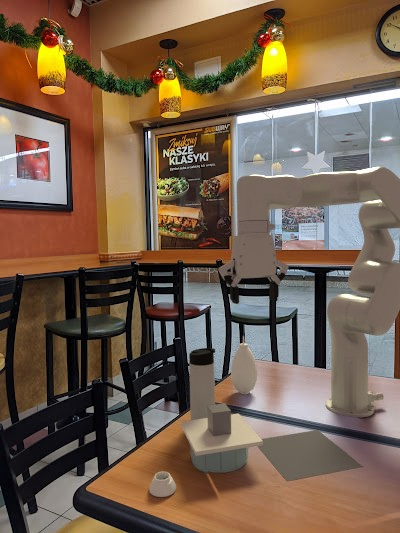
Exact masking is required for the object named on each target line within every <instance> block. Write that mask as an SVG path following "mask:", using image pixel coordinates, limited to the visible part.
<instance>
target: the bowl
mask: <svg viewBox="0 0 400 533" xmlns="http://www.w3.org/2000/svg"><path fill="white" fill-rule="evenodd" d="M189 445H190V444H189ZM189 448H190V457H191V463H192V465H193V466H194V468H196V469H197V470H198V471H200V472H202V473H204V474H207V475H209V474H210V473H228V472H233V471H236V470H239V469H241V468H242V467H244V466H245V465H246V464H247V462H248V457H249V447H247V448H241V449H235V450H229V451H223V452H217V453H210V454H204V455H198V456H196V455H195V453H194V451H193V449H192V447H191V445H190V447H189ZM209 472H210V473H209Z"/></svg>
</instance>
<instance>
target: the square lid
mask: <svg viewBox="0 0 400 533" xmlns="http://www.w3.org/2000/svg"><path fill="white" fill-rule="evenodd" d="M207 415H208V418H203V419H196V420H191V419H190V420H181V421H180V423H179V424H180V427H181V429H182V431H183V433H184V435H185V437H186V438H187V441H188V443H189V445H191V447H192V449H193V451H194V453H195V455H196V456H198V455H204V454H210V453H217V452H223V451H229V450H235V449H241V448H247V447H248V448H252V447H258V446H260V445H263V441H262V440H261V439H262V438H261V437H260V436H259V435H258V434H257V433H256V431H255V430H254V429H253V428H252V427H251V425H249V424H248V422H246V420H245V419H244V418H243V416H241V414H240V413H235V414H234V413H233V414H232V410H231V409H230V408H229V407H228V405H227V404H226V403H224V402H223V403H218V404H217V403H215V405H209V406H207ZM191 447H190V448H191Z"/></svg>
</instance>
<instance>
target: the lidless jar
mask: <svg viewBox="0 0 400 533" xmlns="http://www.w3.org/2000/svg"><path fill="white" fill-rule="evenodd" d="M148 489H149V494H151V495H152V496H154V497H157V498H164V497H169V496H171V495H173V494H174V493H176V489H177V485H176V482H175V480H174V479H173V476H171V474H170V473H169V472H168V471H159V472H156V473H155V474H154V476H153V477H152V481H151V483H150V485H149V488H148Z"/></svg>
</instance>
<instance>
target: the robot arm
mask: <svg viewBox="0 0 400 533" xmlns="http://www.w3.org/2000/svg"><path fill="white" fill-rule="evenodd" d="M360 203H361V204H362V205H361V206H360V207H359V210H358V220H359V225H360V226H361V229H362V233H363V243H362V244H363V245H362V247H361V250H360V251H359V254H358V256H357V258H356V260H355V262H354V264H353V265H352V268H351V270H350V273H349V276H348V278H347V283H348V286H349V288H350V290H351V291H353V292H354V293H357V294H353V293H341V294H338V295H335V296H334V297H332V298H331V299H330V300H329V301H328V304H327V310H326V315H327V320H328V321H327V322H328V326H329V332H330V348H331V349H330V350H331V352H330V354H331V355H330V356H331V357H330V358H331V359H330V360H331V361H330V364H331V366H330V369H331V370H330V372H331V373H330V381H331V382H330V383H331V388H330V389H331V391H330V392H331V393H330V394H331V396H330V398H328V399H326V401H325V407H326V409H327V410H329V411H330V412H332V413H334V414H337V415H341V416H344V417H345V416H346V417H351V418H352V417H353V418H354V417H356V418H358V419H362V418H367V417H370V416H372V415H373V414H374V413H375V406H374V405H373V403H374V402H375V401H381V400H384V394H383V393H382V392H375V393H374V392H373V391H372V390H369V343H368V340H367V337H366V335H370V336H374V337H375V336H378V337H379V336H383V335H386V334H387V333H388V332H389V331H390V329H392V326H393V325H394V324H395V321H396V319H397V317H398V314H399V312H400V262H398V261H393V259H394V257H395V253H396V245H395V242H394V240H393V238H392V236H391V234H390V232H389V230H390V229H400V178H399V176H398V175H397V174H396V173H395V172H393V171H392V170H391V169H389V168H387V167H385V166H376V167H372V168H365V169H361V170H353V171H332V172H331V171H329V172H328V171H327V172H319V173H313V174H309V175H305V176H301V177H296V176H294V175H291V174H290V175H289V174H283V175H282V174H281V175H274V176H273V175H272V176H270V175H269V176H265V175H262V174H249V175H243V176H241V177H238V179H237V181H236V220H237V221H236V222H237V229H236V230H237V235H233V240H232V244H231V245H232V246H231V255H230V256H231V257H230V261H228V262H227V263H225V264H223V265H222V266H220V267H218V270H217V271H218V272H219V274H220V276H221V278H222V280H223V281H224V282H225V283H226V284H227V286H229V299H230V301H231V303H233V304H235V305H238V304H240V287H239V286H238V284H239V283H240V281H241V280H242V279H255V278H256V279H257V278H258V279H259V278H266V279H268V280H269V281H270V283H269V284H268V285H269V286H268V292H269V293H268V294H269V295H268V298H269V299H268V300H270V301H272V302H278V298H279V293H280V292H279V286H280V284H281V282H282V280H284V278H285V277H286V274H287V271H288V270H289V265H288V264H286V263H285V262H282V261H281V260H279V259H277V254H276V244H275V241H274V237H273V234H271V231H272V230H273V231H274V230H275V229H276V225H275V224H274V223H271V220H270V218H271V217H270V214H271V213H270V211H271V210H281V209H292V208H293V209H294V208H317V207H318V208H320V207H329V206H337V205H339V206H340V205H352V204H353V205H354V204H360ZM277 268H279V272H278V273H277ZM228 270H230V274H231V275H232V276H231V277H230V276H229V274H228ZM360 294H361V295H360ZM364 295H366V296H364Z"/></svg>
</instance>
